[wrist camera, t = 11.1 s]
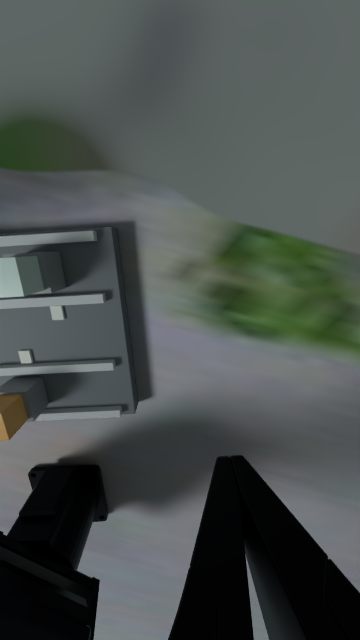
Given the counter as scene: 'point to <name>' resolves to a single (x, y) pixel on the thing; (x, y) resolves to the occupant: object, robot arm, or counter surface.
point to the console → (72, 327)
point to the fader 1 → (31, 274)
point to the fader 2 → (20, 404)
